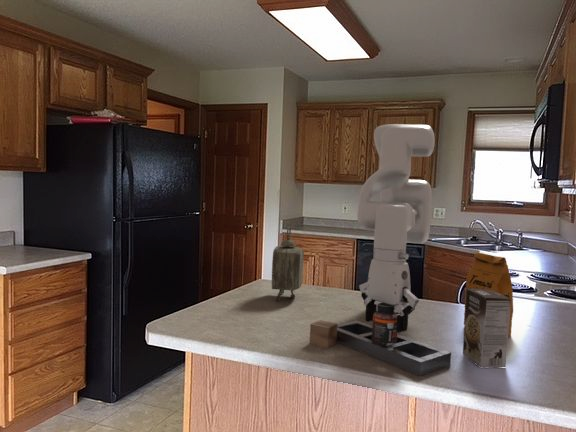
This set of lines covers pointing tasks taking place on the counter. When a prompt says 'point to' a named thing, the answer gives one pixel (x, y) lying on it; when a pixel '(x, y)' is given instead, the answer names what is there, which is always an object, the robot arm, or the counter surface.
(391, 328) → the supplement bottle
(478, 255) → the coffee package
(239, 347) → the counter surface
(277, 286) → the tabletop clock
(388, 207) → the robot arm
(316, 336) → the walnut block
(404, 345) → the rail
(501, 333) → the coffee box
